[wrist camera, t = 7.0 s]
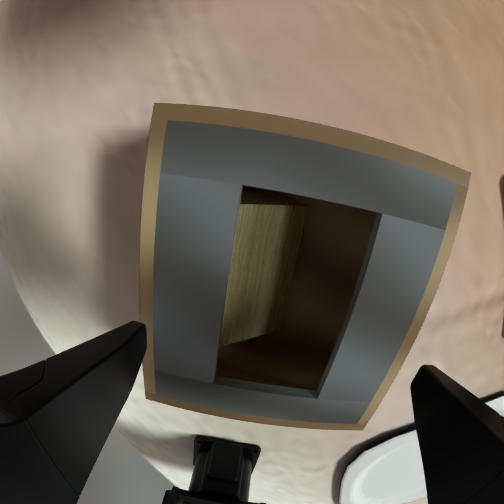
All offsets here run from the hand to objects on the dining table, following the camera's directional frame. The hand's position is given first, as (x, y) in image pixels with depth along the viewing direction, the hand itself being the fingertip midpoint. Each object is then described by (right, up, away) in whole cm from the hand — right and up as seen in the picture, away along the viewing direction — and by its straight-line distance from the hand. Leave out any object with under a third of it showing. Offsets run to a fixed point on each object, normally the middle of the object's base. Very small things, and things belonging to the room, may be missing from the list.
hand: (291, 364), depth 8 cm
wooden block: (0, +3, +8) cm, 8 cm away
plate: (+22, -24, +18) cm, 38 cm away
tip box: (+1, +3, +10) cm, 10 cm away
